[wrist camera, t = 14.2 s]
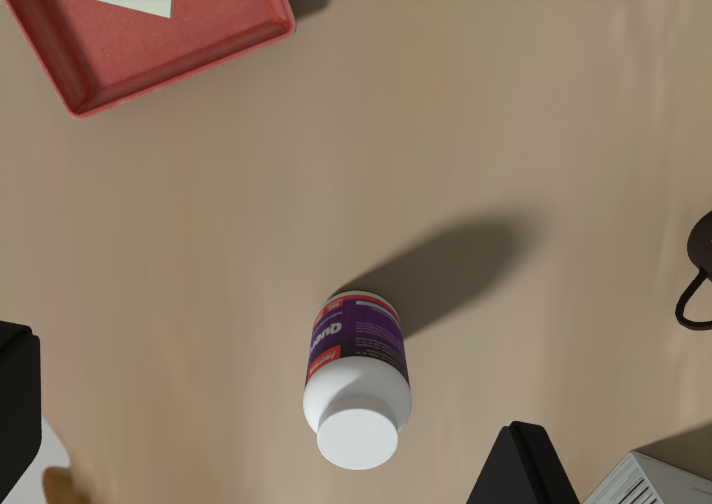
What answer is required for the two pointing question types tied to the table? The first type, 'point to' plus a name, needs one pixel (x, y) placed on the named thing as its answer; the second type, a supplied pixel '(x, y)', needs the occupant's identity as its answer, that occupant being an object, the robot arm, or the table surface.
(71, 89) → the plant saucer
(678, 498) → the supplement box
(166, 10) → the white tan l-shaped piece
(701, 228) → the coffee mug
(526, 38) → the table surface
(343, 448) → the pill bottle
